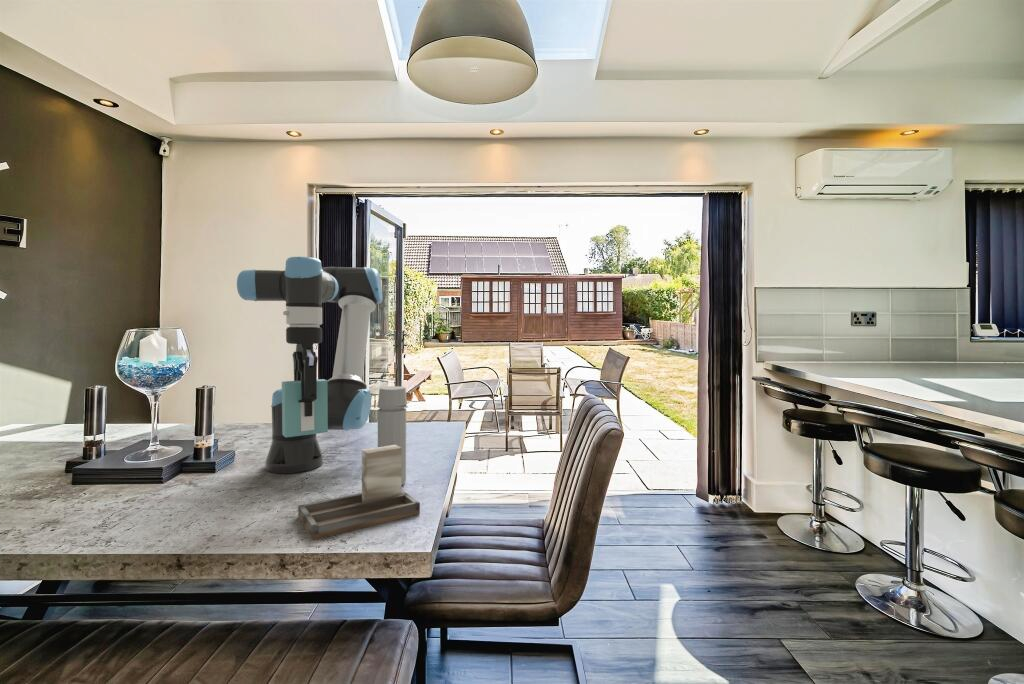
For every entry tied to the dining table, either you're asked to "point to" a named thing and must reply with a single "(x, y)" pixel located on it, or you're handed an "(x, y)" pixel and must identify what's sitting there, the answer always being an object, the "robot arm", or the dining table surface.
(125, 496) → the dining table surface
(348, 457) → the dining table surface
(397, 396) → the water bottle
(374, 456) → the track base
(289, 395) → the teal door
